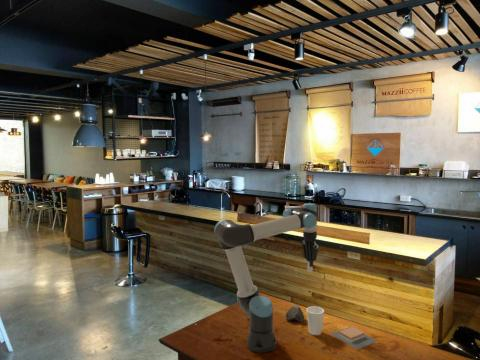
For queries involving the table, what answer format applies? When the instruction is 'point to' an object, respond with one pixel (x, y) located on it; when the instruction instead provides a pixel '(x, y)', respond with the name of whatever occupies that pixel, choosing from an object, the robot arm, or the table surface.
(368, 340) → the mat
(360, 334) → the tile
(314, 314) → the foam cup
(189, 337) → the table surface
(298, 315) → the fossil
